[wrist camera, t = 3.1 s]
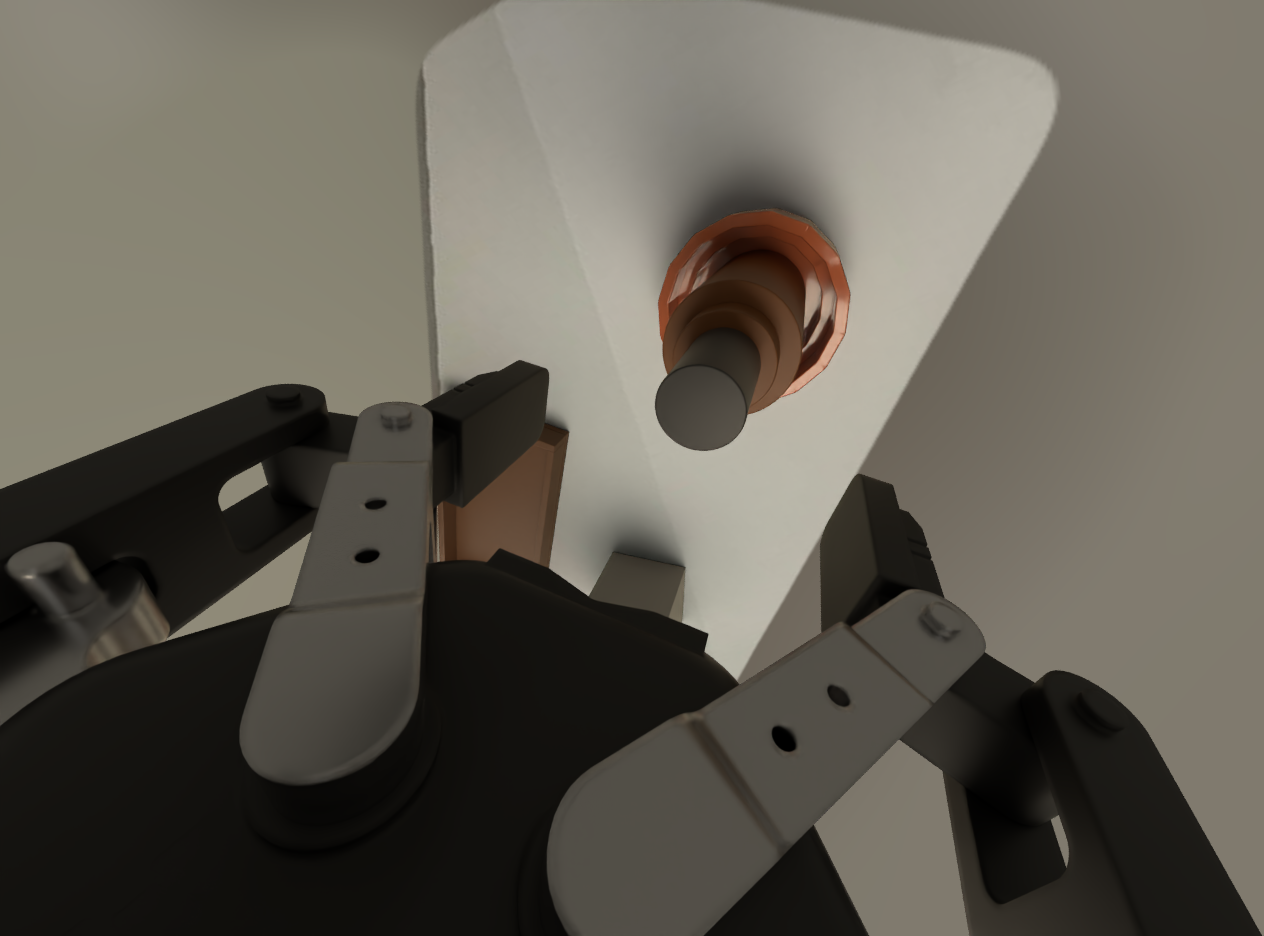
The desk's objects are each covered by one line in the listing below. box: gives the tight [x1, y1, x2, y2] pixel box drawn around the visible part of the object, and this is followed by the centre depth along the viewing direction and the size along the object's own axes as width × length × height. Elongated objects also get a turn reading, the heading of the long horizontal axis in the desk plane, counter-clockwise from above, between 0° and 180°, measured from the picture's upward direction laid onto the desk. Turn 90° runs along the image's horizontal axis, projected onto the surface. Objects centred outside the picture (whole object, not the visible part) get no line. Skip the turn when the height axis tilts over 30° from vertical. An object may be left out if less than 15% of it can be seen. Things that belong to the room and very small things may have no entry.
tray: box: [438, 423, 569, 568], centre depth 43 cm, size 21×11×3 cm, turn 168°
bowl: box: [658, 208, 850, 398], centre depth 26 cm, size 10×10×5 cm
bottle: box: [655, 250, 806, 451], centre depth 21 cm, size 6×6×17 cm
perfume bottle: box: [589, 552, 685, 623], centre depth 36 cm, size 7×7×18 cm
